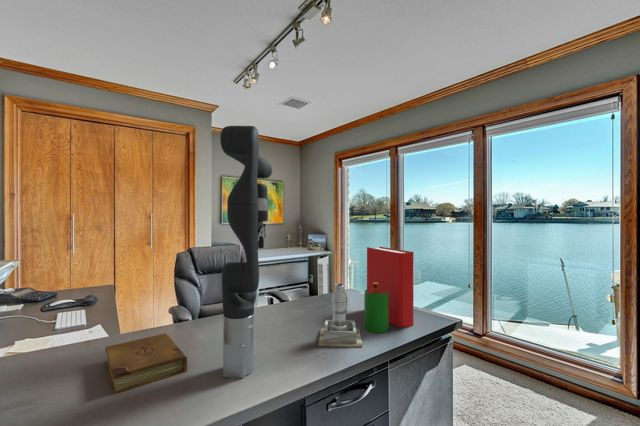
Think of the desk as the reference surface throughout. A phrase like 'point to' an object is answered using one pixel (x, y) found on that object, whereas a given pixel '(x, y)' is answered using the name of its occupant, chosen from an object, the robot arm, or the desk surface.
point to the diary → (143, 362)
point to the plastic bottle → (339, 309)
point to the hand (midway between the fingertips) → (258, 249)
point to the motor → (376, 310)
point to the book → (393, 281)
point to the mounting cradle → (340, 336)
